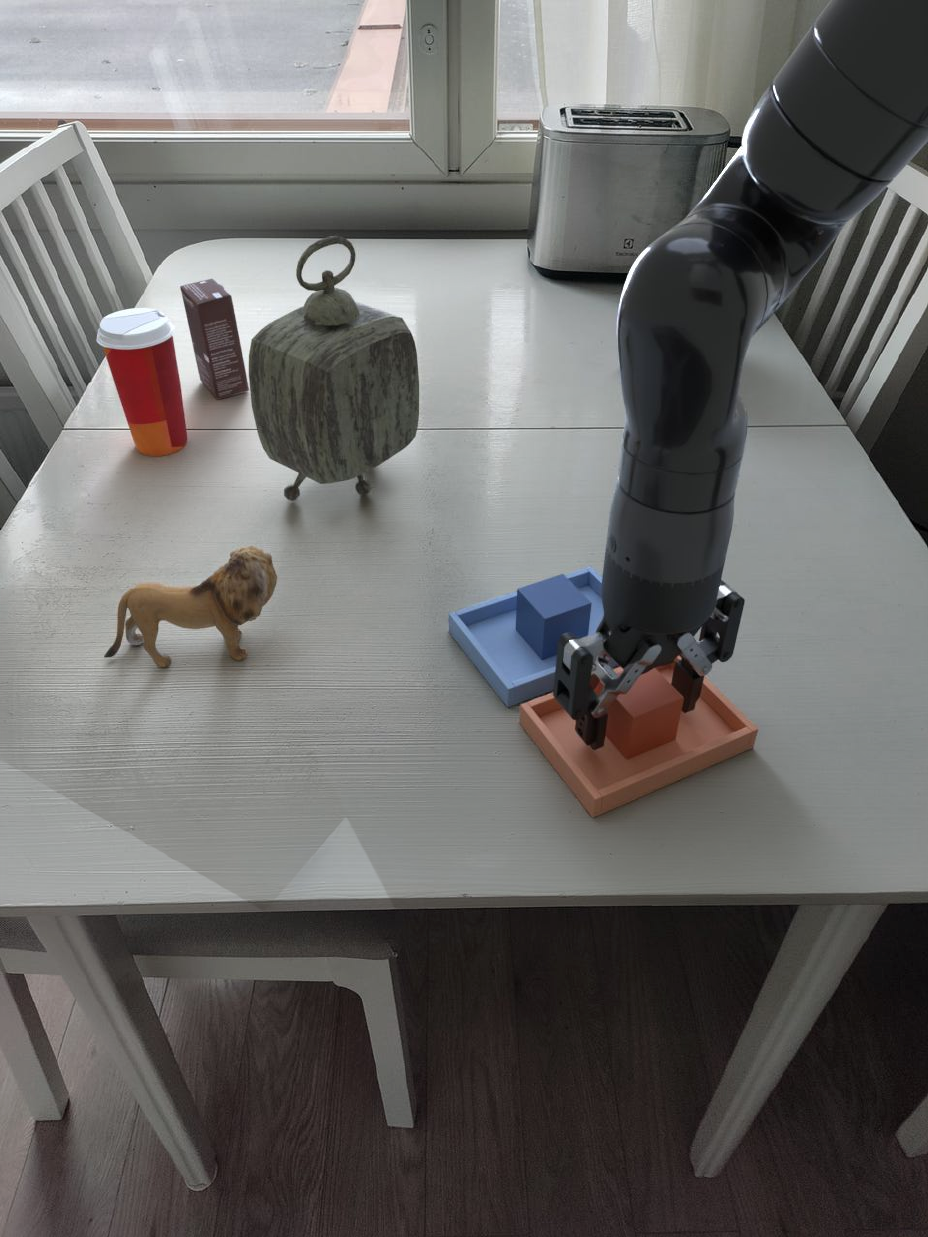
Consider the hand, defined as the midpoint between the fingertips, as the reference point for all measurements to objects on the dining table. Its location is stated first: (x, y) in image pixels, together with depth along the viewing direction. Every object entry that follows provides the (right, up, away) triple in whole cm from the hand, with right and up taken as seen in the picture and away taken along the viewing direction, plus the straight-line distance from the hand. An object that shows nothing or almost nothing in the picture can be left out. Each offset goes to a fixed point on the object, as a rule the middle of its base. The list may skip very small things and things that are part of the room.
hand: (637, 722), depth 71 cm
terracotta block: (0, -1, +1) cm, 1 cm away
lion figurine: (-35, +5, +9) cm, 36 cm away
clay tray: (0, -1, +1) cm, 1 cm away
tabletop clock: (-25, +21, +27) cm, 42 cm away
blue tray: (-6, +6, +9) cm, 12 cm away
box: (-42, +36, +45) cm, 71 cm away
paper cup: (-46, +27, +34) cm, 64 cm away
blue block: (-6, +6, +9) cm, 12 cm away
